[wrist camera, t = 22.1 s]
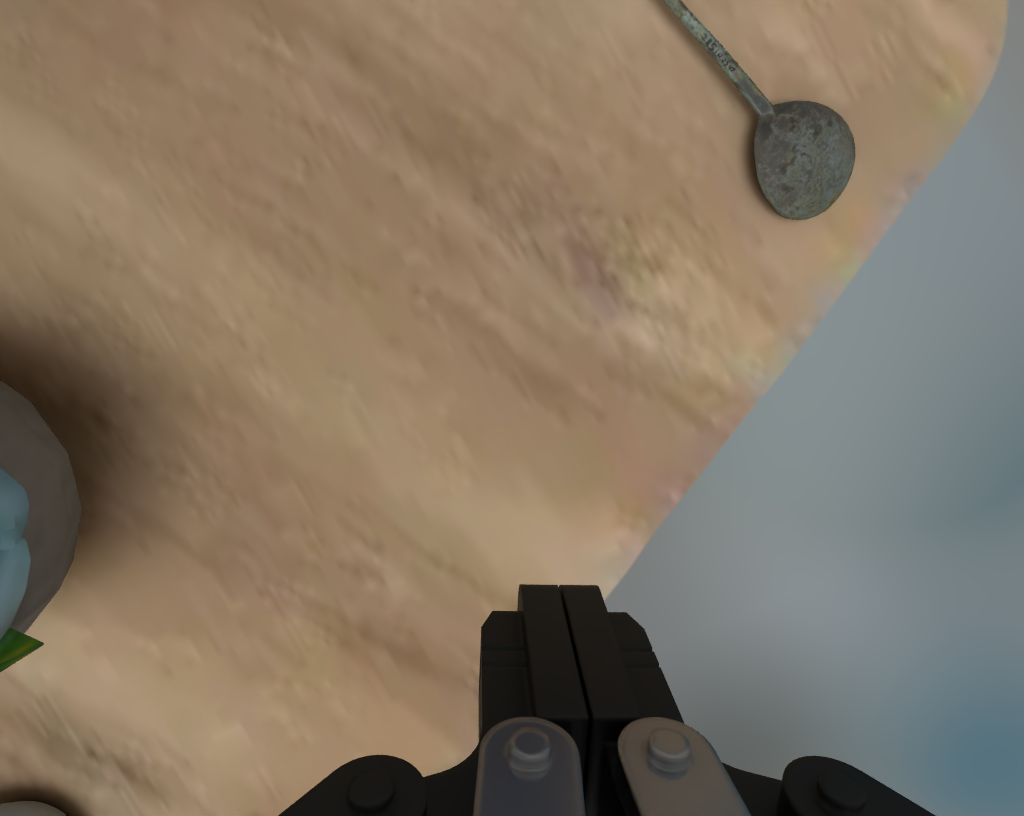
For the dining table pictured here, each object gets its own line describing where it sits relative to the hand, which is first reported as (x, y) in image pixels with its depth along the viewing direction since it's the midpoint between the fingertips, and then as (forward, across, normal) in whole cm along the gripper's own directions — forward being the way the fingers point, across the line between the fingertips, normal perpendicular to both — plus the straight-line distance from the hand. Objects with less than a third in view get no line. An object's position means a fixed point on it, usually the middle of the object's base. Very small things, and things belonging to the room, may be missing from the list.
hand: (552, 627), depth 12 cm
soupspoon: (+34, -14, -18) cm, 41 cm away
